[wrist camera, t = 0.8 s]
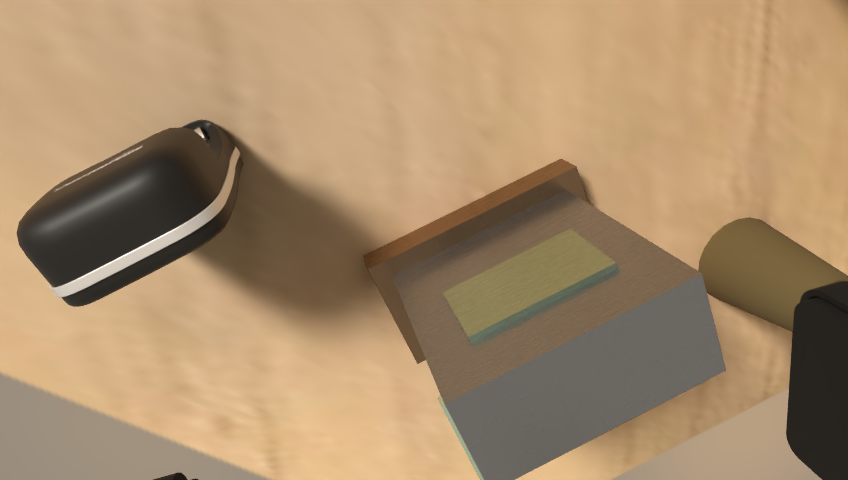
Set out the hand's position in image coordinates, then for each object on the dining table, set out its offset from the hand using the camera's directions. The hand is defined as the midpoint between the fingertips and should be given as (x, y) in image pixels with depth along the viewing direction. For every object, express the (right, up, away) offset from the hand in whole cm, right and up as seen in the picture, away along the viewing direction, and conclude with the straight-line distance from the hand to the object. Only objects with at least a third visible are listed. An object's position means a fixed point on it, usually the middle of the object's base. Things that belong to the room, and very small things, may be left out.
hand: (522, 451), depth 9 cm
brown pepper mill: (+20, +2, +32) cm, 37 cm away
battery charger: (-15, +7, +22) cm, 27 cm away
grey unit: (+2, +2, +27) cm, 27 cm away
